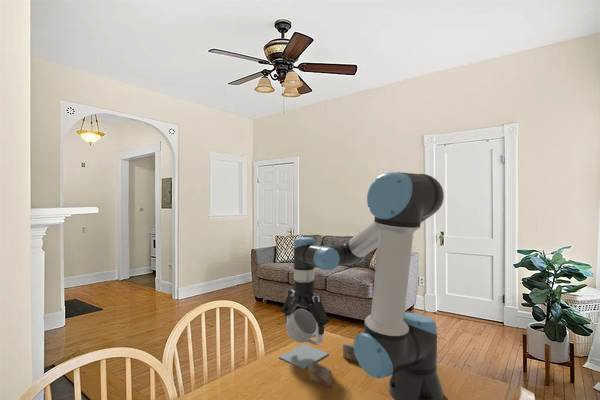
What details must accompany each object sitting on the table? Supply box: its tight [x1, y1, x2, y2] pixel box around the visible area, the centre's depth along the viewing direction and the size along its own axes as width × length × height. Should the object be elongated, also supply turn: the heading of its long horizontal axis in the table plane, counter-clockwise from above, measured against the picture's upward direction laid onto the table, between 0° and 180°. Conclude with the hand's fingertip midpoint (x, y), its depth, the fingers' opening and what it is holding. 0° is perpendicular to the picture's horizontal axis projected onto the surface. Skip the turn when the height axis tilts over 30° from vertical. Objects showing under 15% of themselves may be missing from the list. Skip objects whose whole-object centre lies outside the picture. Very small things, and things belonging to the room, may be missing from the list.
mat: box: [278, 343, 330, 370], centre depth 123 cm, size 12×14×1 cm
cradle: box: [308, 342, 359, 389], centre depth 113 cm, size 8×21×5 cm, turn 138°
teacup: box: [285, 307, 319, 346], centre depth 122 cm, size 14×11×8 cm
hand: (304, 338), depth 123 cm, fingers closed on teacup, 13 cm apart
